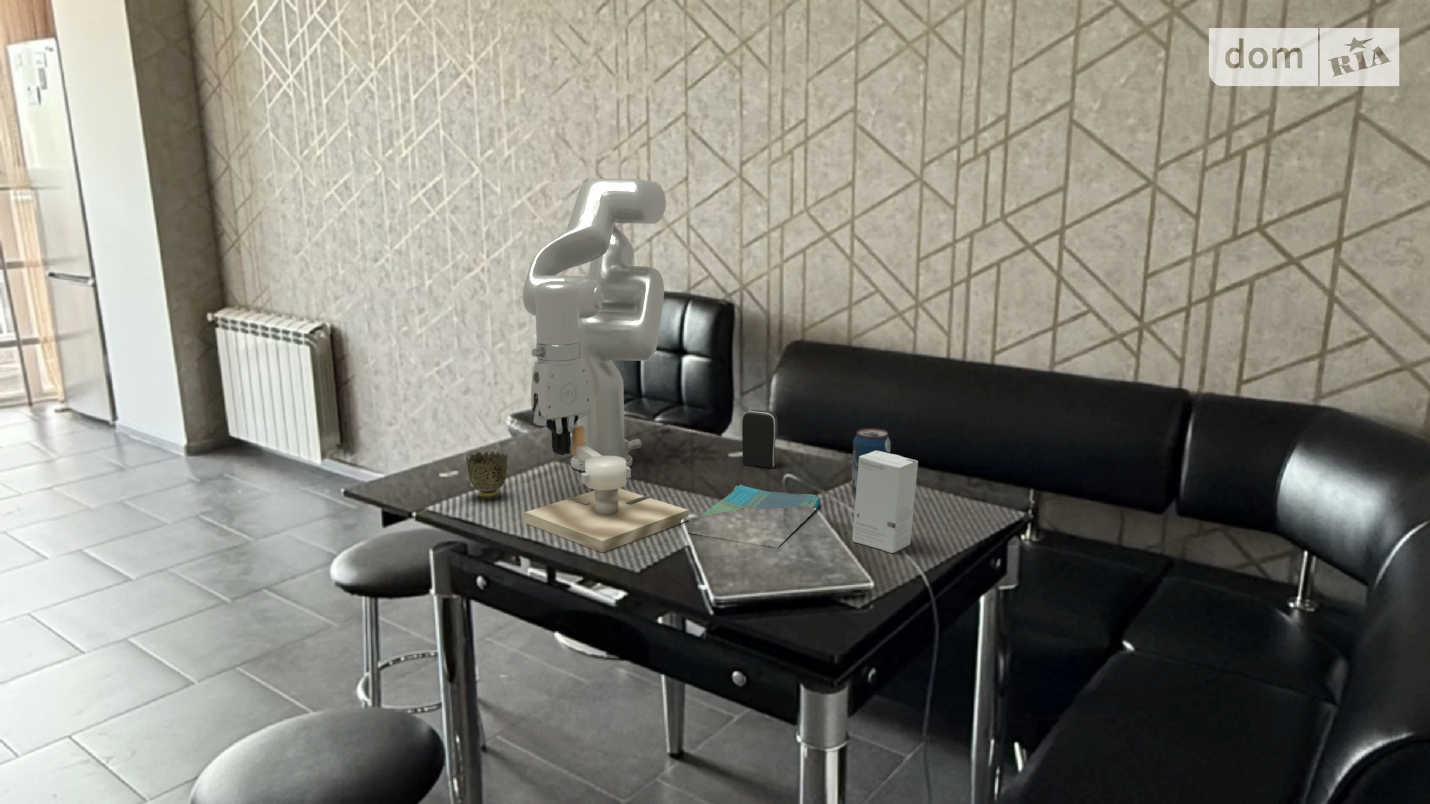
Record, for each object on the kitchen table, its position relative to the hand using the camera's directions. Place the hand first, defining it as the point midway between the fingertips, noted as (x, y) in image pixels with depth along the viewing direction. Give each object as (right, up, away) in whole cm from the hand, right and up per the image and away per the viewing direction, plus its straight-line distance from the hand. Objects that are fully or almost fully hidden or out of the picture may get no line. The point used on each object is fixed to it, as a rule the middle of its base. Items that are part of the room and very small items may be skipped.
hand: (561, 452), depth 187 cm
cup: (-15, -9, +7) cm, 18 cm away
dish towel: (+35, -12, -4) cm, 37 cm away
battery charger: (+37, -4, +27) cm, 46 cm away
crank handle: (+6, -4, -3) cm, 8 cm away
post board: (+9, -12, -6) cm, 16 cm away
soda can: (+57, -8, +10) cm, 58 cm away
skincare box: (+55, -14, -15) cm, 59 cm away
